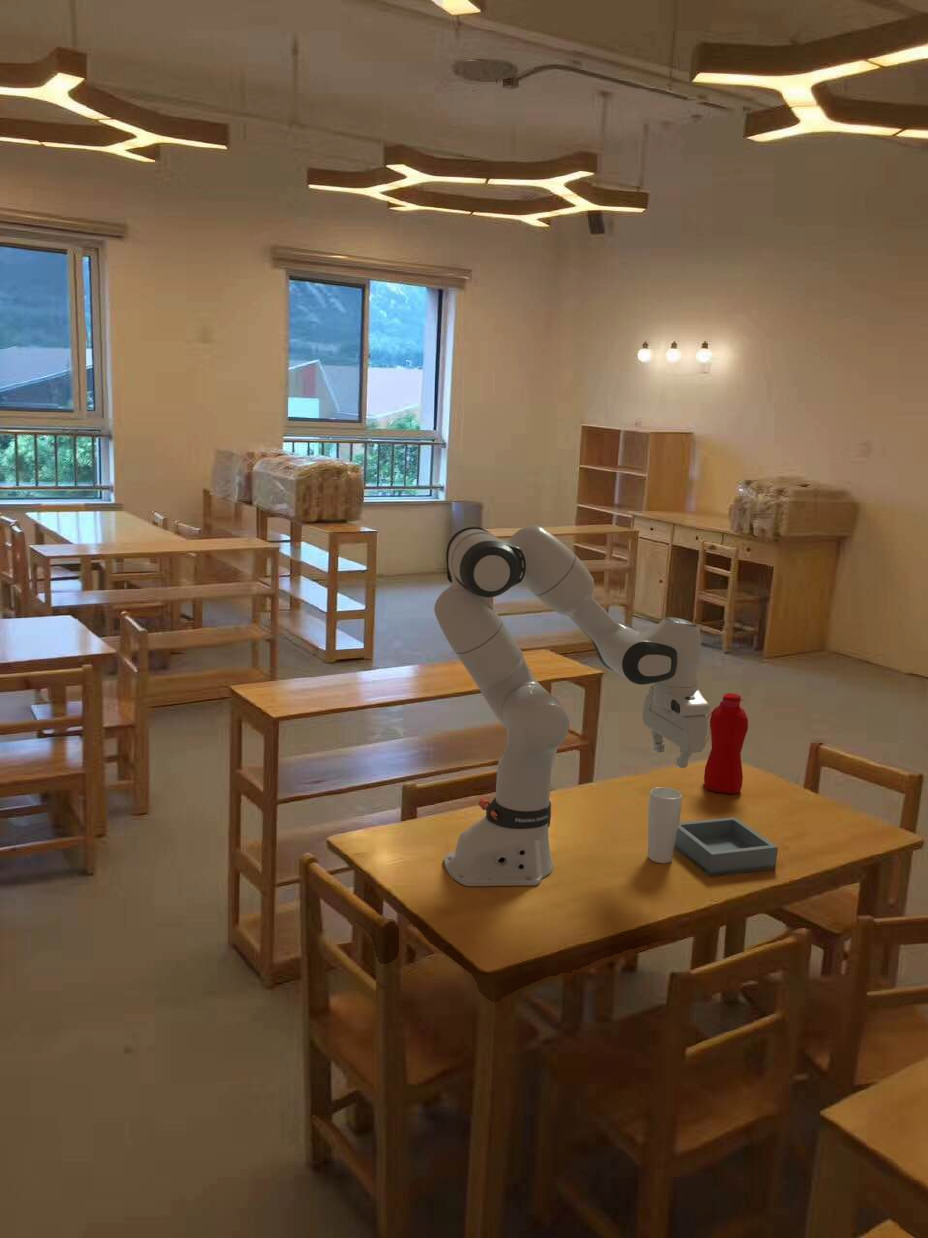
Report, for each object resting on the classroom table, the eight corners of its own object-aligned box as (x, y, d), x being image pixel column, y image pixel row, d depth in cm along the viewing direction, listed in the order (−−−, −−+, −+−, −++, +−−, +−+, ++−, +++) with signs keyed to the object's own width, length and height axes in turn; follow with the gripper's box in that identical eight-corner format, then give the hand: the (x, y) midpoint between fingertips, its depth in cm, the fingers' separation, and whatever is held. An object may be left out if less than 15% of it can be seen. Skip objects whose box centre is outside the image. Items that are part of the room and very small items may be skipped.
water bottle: (695, 779, 263) (705, 687, 258) (738, 783, 262) (749, 691, 257) (697, 792, 255) (707, 697, 249) (742, 796, 253) (753, 701, 248)
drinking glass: (676, 867, 211) (682, 800, 208) (643, 863, 213) (649, 797, 210) (676, 854, 218) (682, 789, 215) (644, 850, 219) (650, 785, 216)
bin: (709, 877, 208) (712, 854, 207) (670, 844, 223) (672, 823, 222) (775, 869, 213) (778, 847, 212) (732, 837, 228) (735, 817, 227)
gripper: (637, 682, 216) (633, 743, 219) (687, 710, 197) (681, 777, 200) (663, 681, 218) (658, 741, 221) (715, 708, 199) (709, 774, 202)
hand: (670, 758), depth 211 cm, fingers open, 8 cm apart
